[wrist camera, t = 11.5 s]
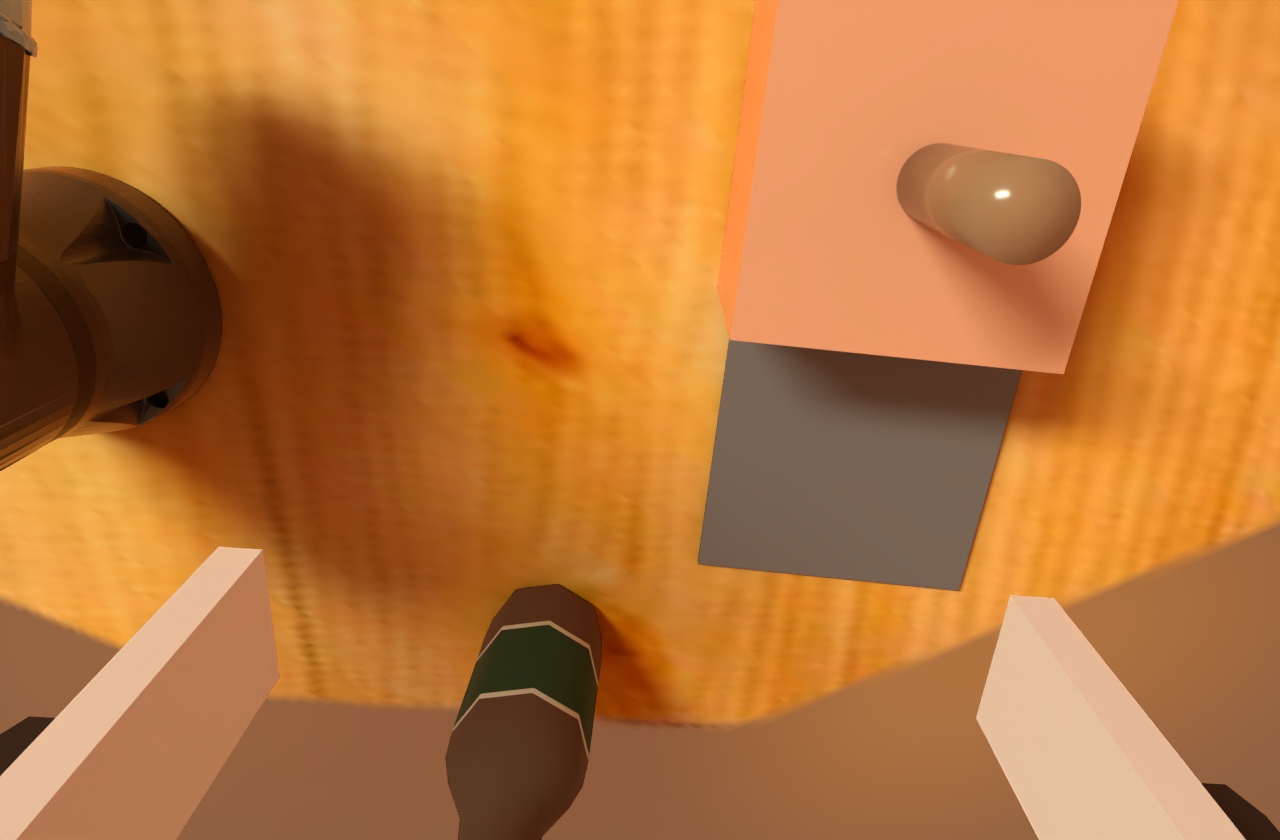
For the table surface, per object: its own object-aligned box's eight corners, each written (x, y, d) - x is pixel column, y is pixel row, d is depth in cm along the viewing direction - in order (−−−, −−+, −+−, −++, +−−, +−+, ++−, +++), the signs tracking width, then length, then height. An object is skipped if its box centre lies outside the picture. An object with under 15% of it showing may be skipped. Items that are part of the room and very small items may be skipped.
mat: (697, 560, 53) (698, 564, 52) (733, 306, 46) (734, 308, 46) (956, 586, 53) (958, 590, 52) (1027, 336, 46) (1030, 339, 46)
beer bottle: (469, 610, 55) (330, 959, 33) (563, 560, 53) (485, 892, 31) (534, 689, 57) (446, 1067, 35) (626, 643, 55) (595, 1010, 33)
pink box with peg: (717, 287, 46) (748, 414, 27) (756, -7, 40) (828, -97, 22) (978, 314, 46) (1185, 459, 27) (1053, 24, 40) (1377, -40, 22)
